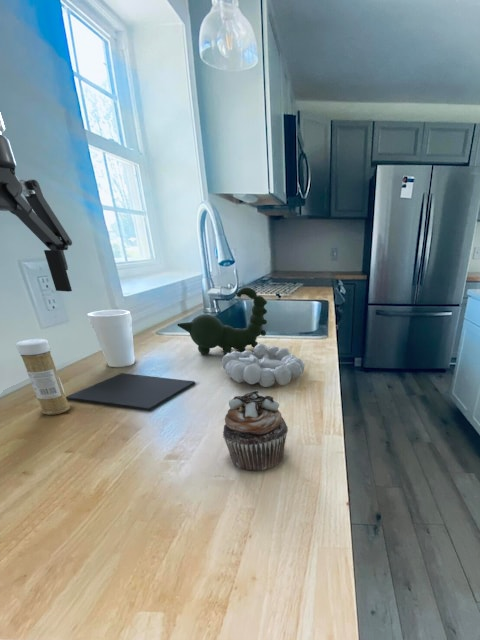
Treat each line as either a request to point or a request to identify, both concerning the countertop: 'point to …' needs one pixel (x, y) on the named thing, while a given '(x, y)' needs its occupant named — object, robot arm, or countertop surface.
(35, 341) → the sprinkles bottle
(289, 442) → the countertop surface
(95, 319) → the foam cup
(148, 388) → the corner mat
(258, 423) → the cupcake
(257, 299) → the toy figurine
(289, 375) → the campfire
